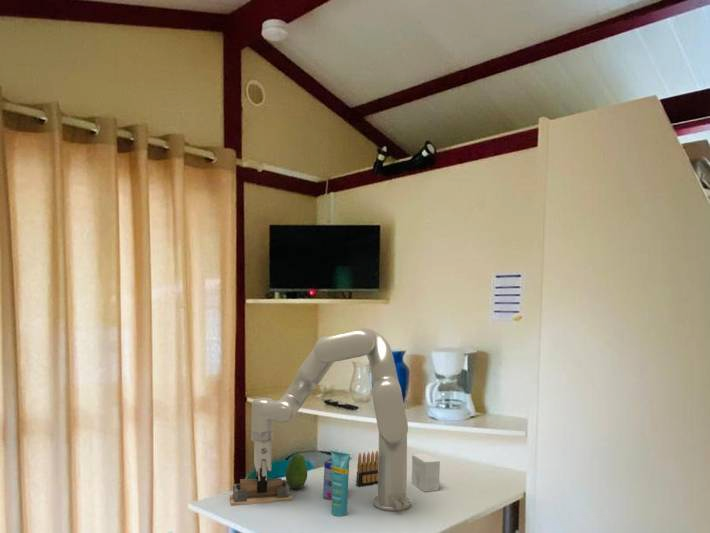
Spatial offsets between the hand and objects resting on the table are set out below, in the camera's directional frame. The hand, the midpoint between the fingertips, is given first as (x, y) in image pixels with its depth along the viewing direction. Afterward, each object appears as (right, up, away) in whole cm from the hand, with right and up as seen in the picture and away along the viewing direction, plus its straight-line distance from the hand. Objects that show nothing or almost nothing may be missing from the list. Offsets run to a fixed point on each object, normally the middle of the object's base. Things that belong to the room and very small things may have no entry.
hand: (261, 489), depth 183 cm
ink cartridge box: (+25, -4, +5) cm, 26 cm away
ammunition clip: (+37, -5, +16) cm, 41 cm away
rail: (0, -3, 0) cm, 3 cm away
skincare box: (+58, -5, +15) cm, 60 cm away
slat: (0, -1, 0) cm, 1 cm away
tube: (+27, -3, -11) cm, 29 cm away
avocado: (+11, -4, +11) cm, 16 cm away
